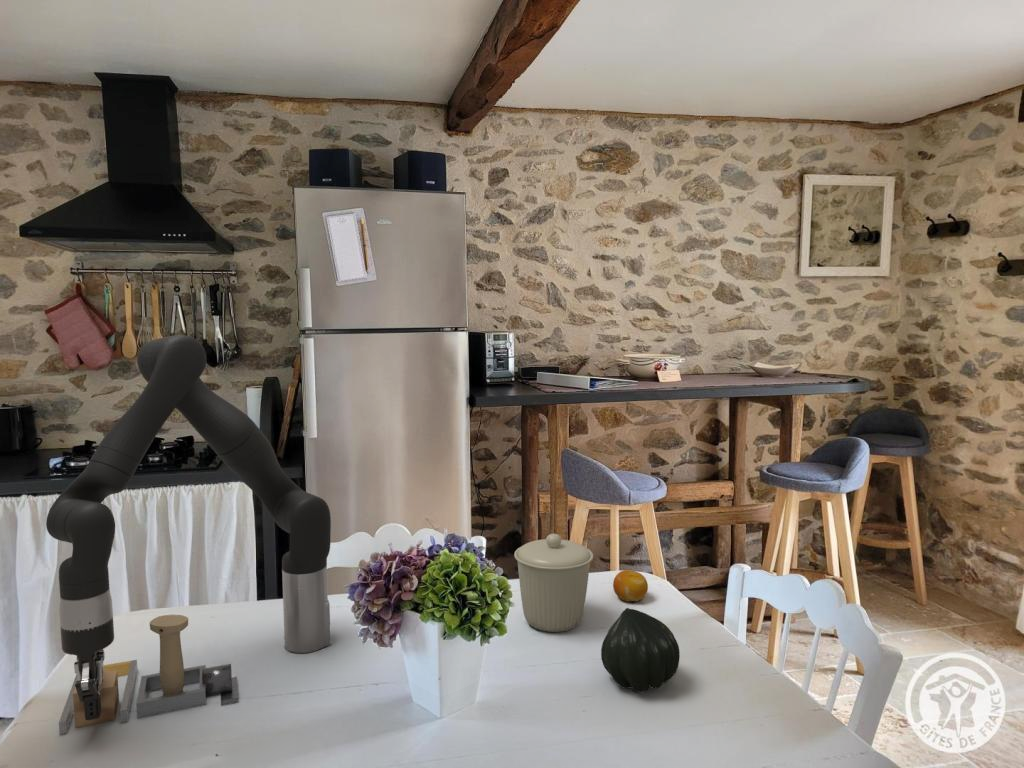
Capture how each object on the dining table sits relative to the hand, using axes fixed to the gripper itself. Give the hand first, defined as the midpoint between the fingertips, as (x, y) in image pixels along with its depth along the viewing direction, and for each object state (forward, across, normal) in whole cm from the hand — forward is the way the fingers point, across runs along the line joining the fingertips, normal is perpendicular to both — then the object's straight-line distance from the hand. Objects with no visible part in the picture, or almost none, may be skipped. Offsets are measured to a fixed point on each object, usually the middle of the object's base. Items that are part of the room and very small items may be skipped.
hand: (93, 717), depth 120 cm
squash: (+4, -20, -95) cm, 97 cm away
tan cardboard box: (+3, +6, 0) cm, 6 cm away
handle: (+3, +7, -12) cm, 14 cm away
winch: (+4, +7, -15) cm, 16 cm away
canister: (+4, +10, -91) cm, 92 cm away
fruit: (+4, +15, -115) cm, 116 cm away
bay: (+4, +11, 0) cm, 11 cm away
